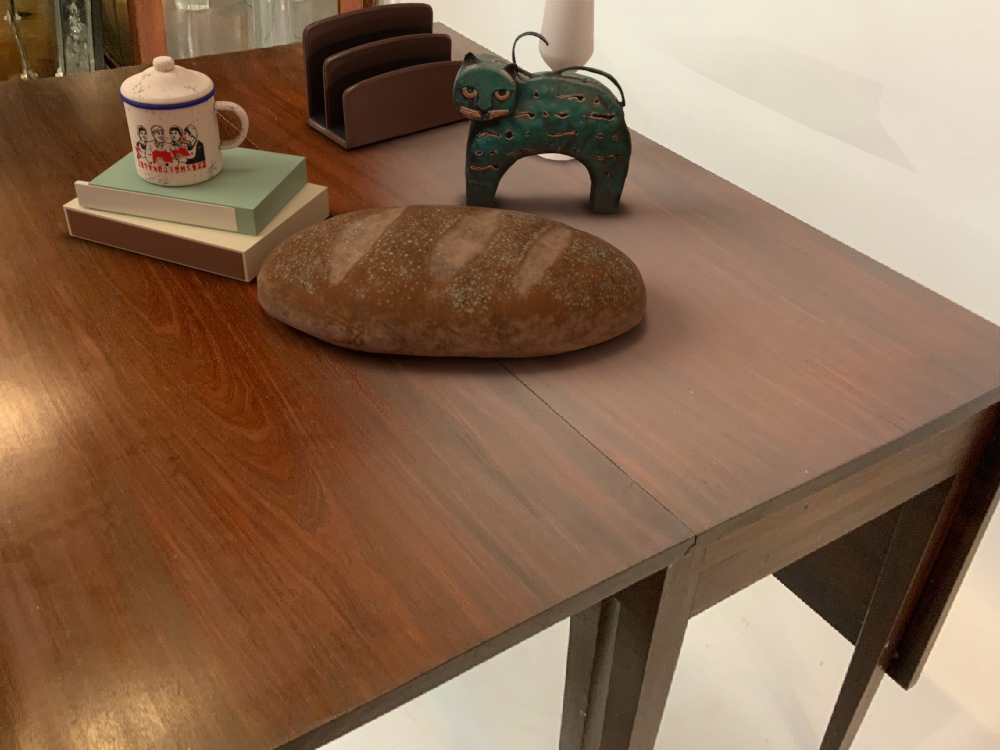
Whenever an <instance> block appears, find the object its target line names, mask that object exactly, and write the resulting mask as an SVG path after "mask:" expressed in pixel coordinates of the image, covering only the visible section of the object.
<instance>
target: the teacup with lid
mask: <svg viewBox="0 0 1000 750" xmlns="http://www.w3.org/2000/svg"><path fill="white" fill-rule="evenodd" d="M119 89H120V90H119V97H120V99H121V100H122V101H123V105H124V111H125V116H126V121H127V126H128V132H129V137H130V142H131V147H132V151H133V153H134V158H135V163H136V169H137V172H138V174H139V176H140V177H141V178H143V179H144V180H146V181H148V182H150V183H153V184H157V185H162V186H186V185H193V184H197V183H201V182H204V181H206V180H209V179H211V178H213V177H214V176H216V175H217V174H218V173H219V172H220V171H221V169H222V166H223V160H222V153H221V150H229V149H233V148H236V147H240V145H241V144H242V143H243V142H244V141H245V140H246V137H247V135H248V132H249V122H250V121H249V117H248V114H247V112H246V111H245V109H244V108H243V107H242V106H240V104H237V103H235V102H232V101H227V100H215V93H216V86H215V84H214V82H213V80H212V79H211V77H209V76H208V75H207V74H205V73H202V72H201V71H197V70H193V69H187V68H186V67H183V66H180V65H176V63H175V60H174V59H173V57H171V56H168V55H160V56H157V57H154V58H153V60H152V66H150V67H148V68H146V69H145V70H143V71H141V72H138V73H135V74H133V75H131V76H128V77H127V78H126V79H125V80H123V82H122V83H121V85H120V88H119ZM217 111H226V112H231V113H233V114H235V115H236V116H237V117H238V119H239V121H240V125H241V127H240V131H239V133H238V135H237V136H236V137H234V138H232V139H228V140H221V139H220V130H219V123H218V117H217Z"/></svg>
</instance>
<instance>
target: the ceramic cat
mask: <svg viewBox="0 0 1000 750" xmlns="http://www.w3.org/2000/svg"><path fill="white" fill-rule="evenodd" d="M526 36H534V37H536V38H538V39H539V40H540V39H541V40H542V41H543V42H544V43H546V46H548V45H549V43H548V42H547V40H546V39H545V38H544V36H542V35H541V33H539V32H536V31H532V30H531V31H525V32H522V33H521V34H518V36H516V38H515V40H514V41H513V44H512V49H511V62H510V63H509V62H507V61H506V60H504V59H502V58H501V57H499V56H497V55H493V54H489V53H482V54H477V55H475V53H473V52H472V51H468V52H467V53H466V54H464V57H463V59H462V61H463V62H462V66H461V67H460V69H459V71H458V73H457V76H456V79H455V82H454V88H453V101H454V104H455V106H456V109H457V111H458V112H459V113H460V114H461V115H462V116H464V117H465V118H467V119H466V120H470V126H469V128H468V129H469V130H468V134H467V140H466V146H465V147H466V149H465V167H464V178H465V206H471V207H486V208H494V206H495V198H496V194H497V190H498V188H499V185H500V182H501V180H502V178H503V177H504V175H505V174H506V173H507V172H508V171H509V170H510V169H511V167H512V166H513V165H514V164H515V163H517V162H518V161H519V160H522V159H523V158H528V157H533V156H538V155H539V154H549V153H554V154H562V155H566V156H570V157H572V158H575V160H576V161H577V162H578V163H580V164H581V165H583V167H585V169H586V171H587V172H588V175H589V180H590V189H589V196H588V197H589V198H588V200H589V205H590V209H591V211H592V212H594V213H597V214H600V215H601V214H616V213H618V210H619V206H620V202H621V197H622V194H623V190H624V187H625V183H626V179H627V177H628V174H629V168H630V160H631V157H632V153H633V152H632V150H633V144H632V142H633V141H632V136H631V132H630V130H629V127H628V124H627V122H626V119H625V116H626V115H625V111H624V108H625V107H626V105H627V104H626V99H625V94H624V91H623V87H622V86H621V84H620V83H619V82H618V80H617V79H616V78H615V77H614V76H613V75H612V74H611V73H609V72H606V71H604V70H602V69H599V68H596V67H590V66H586V65H584V66H571V67H565V68H561V69H559V70H554V71H552V70H545V71H544V70H543V71H537V72H528V71H526V70H524V69H522V68H520V67H518V64H517V60H516V53H515V49H516V46H517V42H518V41H519V40H520V39H521V38H524V37H526ZM569 70H578V71H585V72H589V73H591V74H596V75H600V76H603V77H605V78H606V79H608V80H609V81H610V82H611V83H612V84H613V85H614V86H615V87H616V88H617V90H618V91H619V94H620V98H621V101H620V100H619V99H618V97H617V96H616V95H615V94H614V93H613V92H612V90H611V89H610V88H609V87H608V86H606V85H605V84H604V83H602V82H601V81H600V80H598V79H596V78H594V77H592V76H589V75H585V74H581V73H577V72H576V73H573V72H565V71H569Z"/></svg>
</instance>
